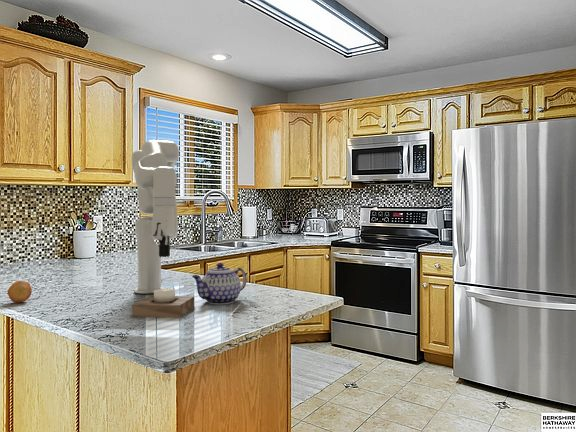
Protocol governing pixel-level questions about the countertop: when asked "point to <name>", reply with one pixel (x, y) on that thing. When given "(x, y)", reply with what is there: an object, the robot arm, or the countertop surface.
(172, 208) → the robot arm
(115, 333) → the countertop surface
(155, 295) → the button
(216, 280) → the teapot
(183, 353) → the countertop surface
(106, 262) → the countertop surface
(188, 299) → the housing
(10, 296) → the fruit
